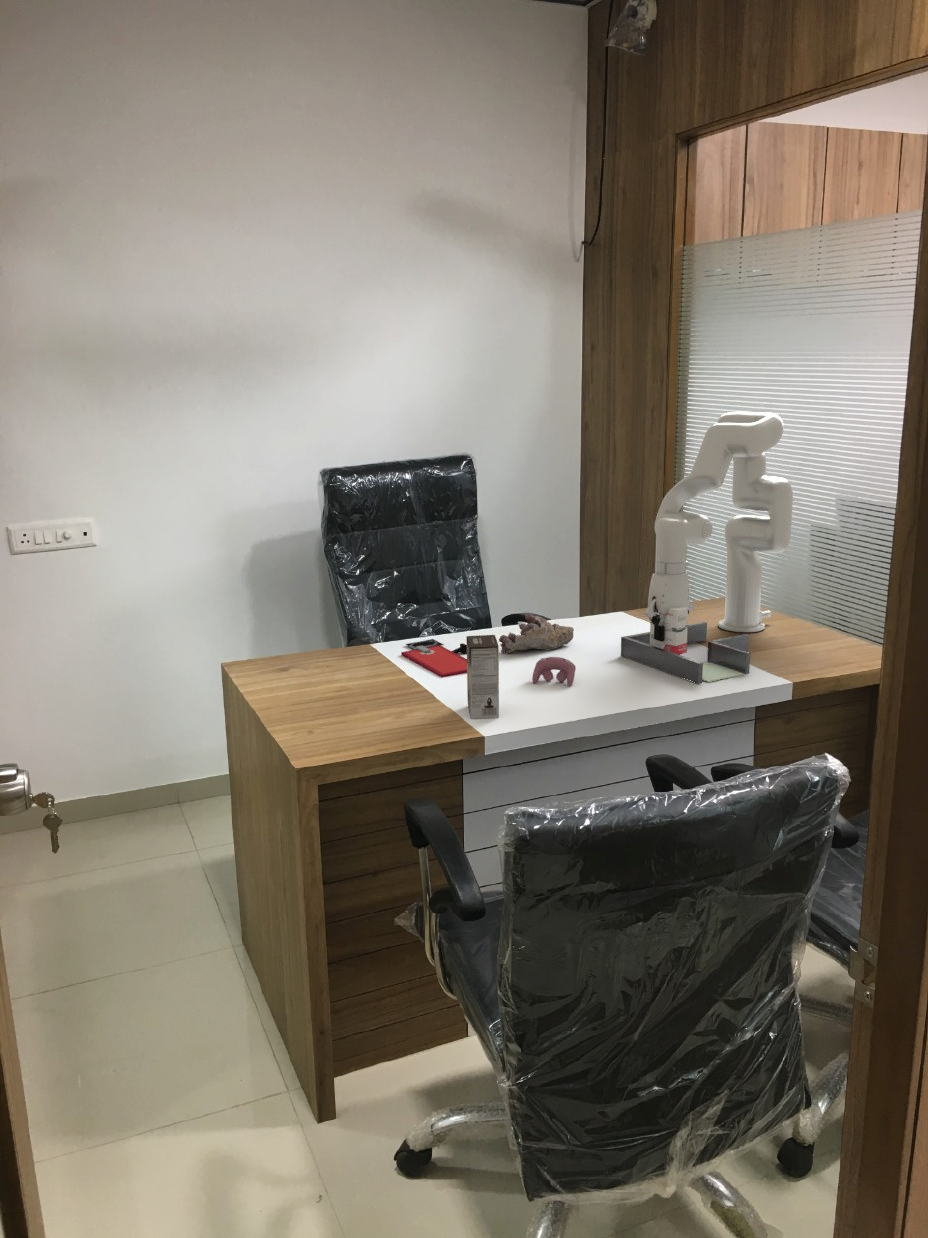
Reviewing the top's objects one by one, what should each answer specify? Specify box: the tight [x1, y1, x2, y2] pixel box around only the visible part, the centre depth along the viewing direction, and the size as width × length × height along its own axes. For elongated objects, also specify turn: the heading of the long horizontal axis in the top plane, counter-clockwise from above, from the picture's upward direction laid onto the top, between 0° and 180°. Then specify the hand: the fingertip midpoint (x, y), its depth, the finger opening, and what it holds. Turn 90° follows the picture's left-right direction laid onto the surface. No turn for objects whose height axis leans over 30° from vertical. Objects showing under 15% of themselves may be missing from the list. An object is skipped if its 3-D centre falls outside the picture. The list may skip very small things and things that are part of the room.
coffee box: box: [465, 634, 500, 720], centre depth 216 cm, size 9×6×16 cm
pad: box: [702, 662, 744, 683], centre depth 242 cm, size 11×11×1 cm
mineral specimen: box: [498, 613, 575, 655], centre depth 265 cm, size 20×10×10 cm
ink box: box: [649, 607, 689, 655], centre depth 253 cm, size 8×5×12 cm, turn 39°
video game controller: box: [531, 656, 577, 688], centre depth 237 cm, size 10×5×7 cm, turn 72°
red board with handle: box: [400, 638, 467, 678], centre depth 258 cm, size 30×3×15 cm
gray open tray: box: [620, 621, 751, 684], centre depth 252 cm, size 28×28×5 cm
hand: (668, 637), depth 254 cm, fingers closed on ink box, 5 cm apart
